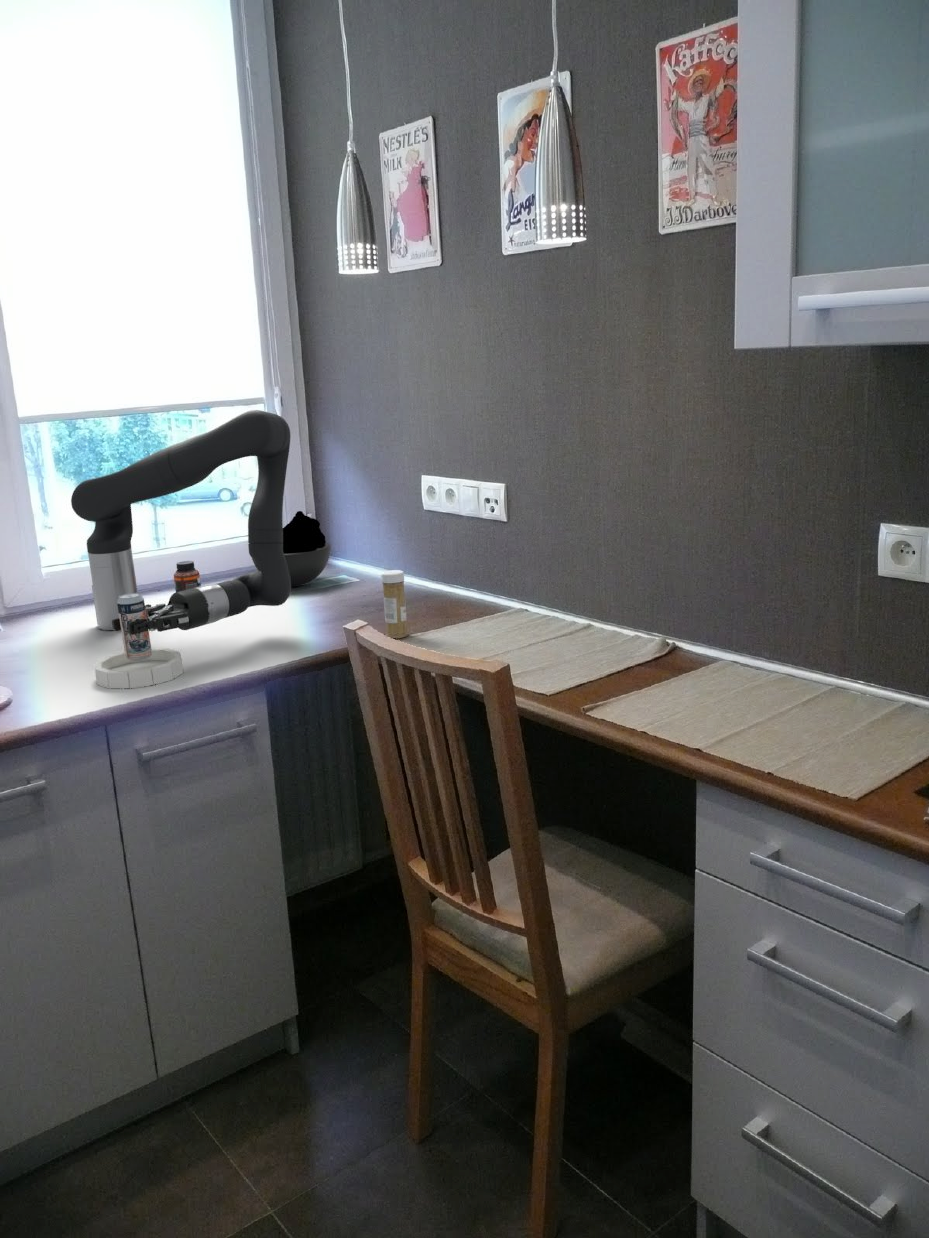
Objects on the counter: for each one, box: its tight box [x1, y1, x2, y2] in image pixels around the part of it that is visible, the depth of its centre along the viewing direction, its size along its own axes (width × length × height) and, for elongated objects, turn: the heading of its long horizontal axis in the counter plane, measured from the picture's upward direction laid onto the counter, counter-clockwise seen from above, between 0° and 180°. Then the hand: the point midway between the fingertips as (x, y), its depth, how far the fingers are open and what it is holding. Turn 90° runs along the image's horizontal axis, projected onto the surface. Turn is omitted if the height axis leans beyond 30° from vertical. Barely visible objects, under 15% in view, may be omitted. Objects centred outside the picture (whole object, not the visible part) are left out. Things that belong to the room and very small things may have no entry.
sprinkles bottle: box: [380, 569, 409, 640], centre depth 209 cm, size 5×5×14 cm
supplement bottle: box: [173, 560, 202, 593], centre depth 243 cm, size 6×6×11 cm
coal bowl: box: [251, 510, 331, 588], centre depth 261 cm, size 20×20×19 cm
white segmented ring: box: [94, 648, 184, 690], centre depth 193 cm, size 15×15×3 cm
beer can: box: [117, 592, 152, 661], centre depth 191 cm, size 5×5×12 cm
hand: (121, 627), depth 189 cm, fingers closed on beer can, 4 cm apart
